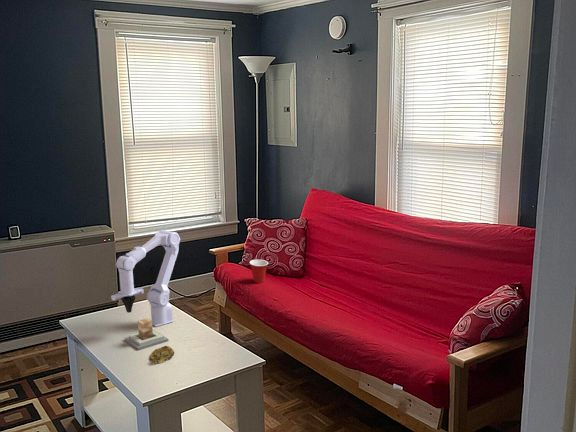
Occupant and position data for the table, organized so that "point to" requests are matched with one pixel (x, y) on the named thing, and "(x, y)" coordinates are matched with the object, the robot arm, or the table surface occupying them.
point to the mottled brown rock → (161, 354)
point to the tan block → (145, 329)
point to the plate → (142, 344)
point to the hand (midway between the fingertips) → (128, 311)
